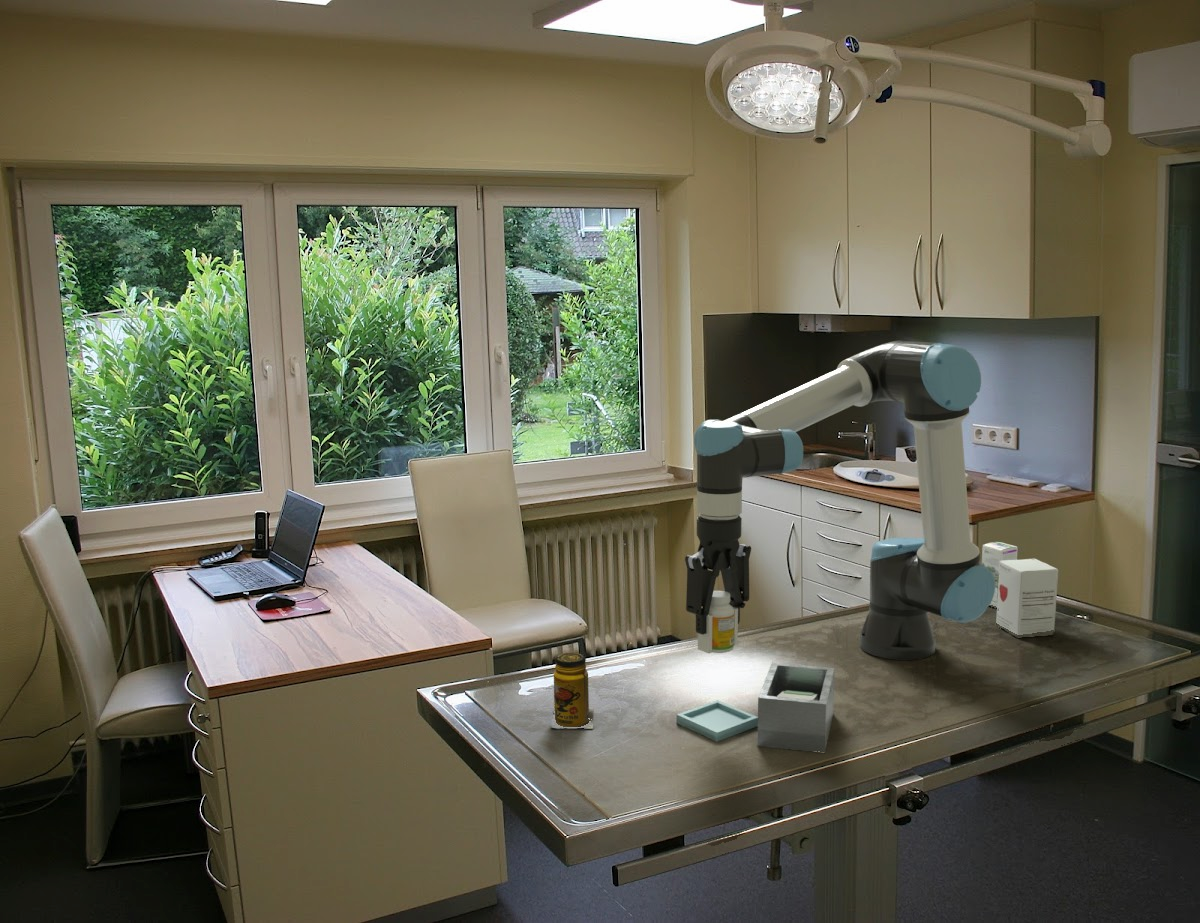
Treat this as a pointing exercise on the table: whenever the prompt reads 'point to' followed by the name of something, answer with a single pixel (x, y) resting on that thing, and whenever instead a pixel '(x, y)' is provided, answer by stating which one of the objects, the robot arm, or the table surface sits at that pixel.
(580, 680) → the condiment
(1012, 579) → the supplement box
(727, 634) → the supplement bottle
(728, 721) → the tray
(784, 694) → the block
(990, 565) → the syrup box
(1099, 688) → the table surface
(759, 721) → the guard box
